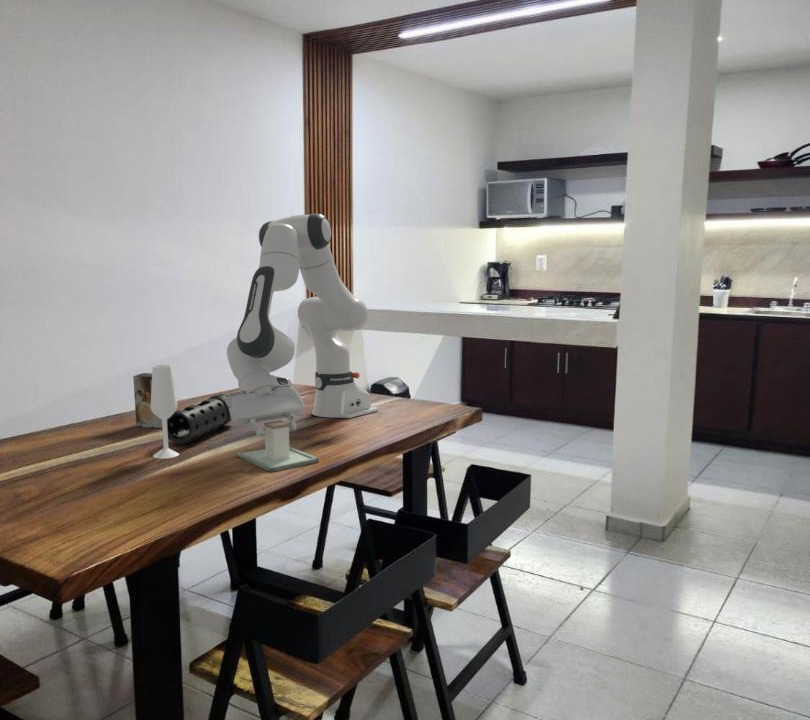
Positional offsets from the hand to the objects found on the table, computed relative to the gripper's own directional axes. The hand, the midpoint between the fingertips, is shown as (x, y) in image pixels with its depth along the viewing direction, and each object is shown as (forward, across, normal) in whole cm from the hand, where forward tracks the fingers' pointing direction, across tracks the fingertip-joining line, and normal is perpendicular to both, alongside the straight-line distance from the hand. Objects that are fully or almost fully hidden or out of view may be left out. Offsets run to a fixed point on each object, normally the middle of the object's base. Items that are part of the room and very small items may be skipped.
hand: (277, 432), depth 188 cm
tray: (+5, 0, +6) cm, 7 cm away
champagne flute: (-10, -21, +21) cm, 32 cm away
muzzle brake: (-20, -4, +31) cm, 37 cm away
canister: (+4, 0, +5) cm, 7 cm away
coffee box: (-35, -11, +46) cm, 59 cm away
